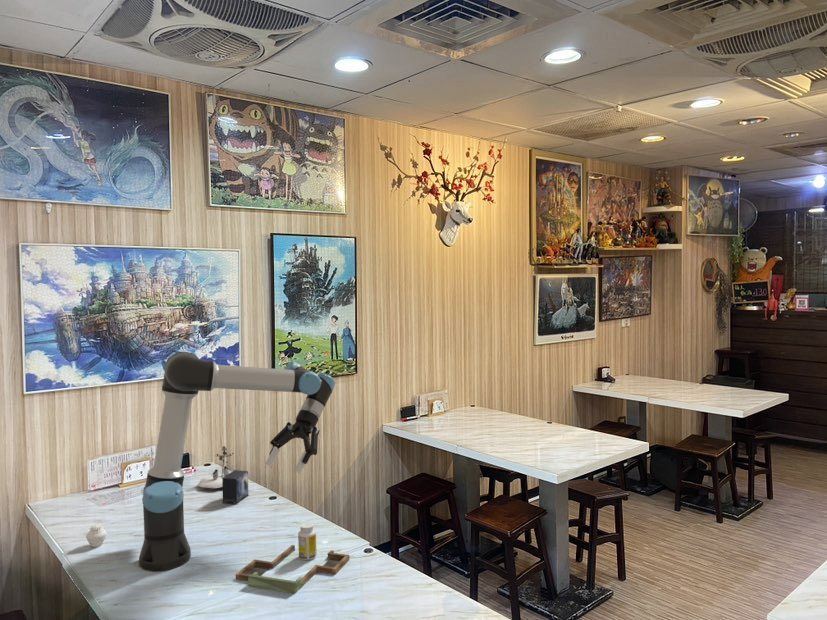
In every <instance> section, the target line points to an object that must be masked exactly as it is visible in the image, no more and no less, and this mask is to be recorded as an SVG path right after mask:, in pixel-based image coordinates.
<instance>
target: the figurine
mask: <svg viewBox="0 0 827 620" xmlns="http://www.w3.org/2000/svg"><path fill="white" fill-rule="evenodd" d="M226 447H227V446H226V445H223V446H222V449H221V450H222V454H221V455H219V453H216V457H219V458H218V460H220V461H221V462H222V468H221V475H219V469H215V470H214V471H213V472H212V475H211V476H209V477H207V478H203V479H200V481H199V482H198V484H197V486H198V487H200V488H208V489H218V488H219V489H220V488H222V478H223V477H224V476H226V475H228V474H229V472H231V471H230V470H229V468H228V466H226V465H225V466H224V464H227V463H229V461H228V460H227V461H225V458H227V457H228V458H229V457H232V456H233V455H234V452H231V453H229V454H228V453H227V452H228V451H227V450H228V448H226Z"/></svg>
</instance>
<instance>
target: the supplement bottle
mask: <svg viewBox="0 0 827 620" xmlns="http://www.w3.org/2000/svg"><path fill="white" fill-rule="evenodd" d="M297 540H298V558H299V559H300V560H302V561H311V560H314V559H315V558H316V557H317V533H316V529H314V524H313V523H311V522H309V523H308V522H306V523H305V522H304V523H302V524H301V525H300V530H299V531H298V533H297Z"/></svg>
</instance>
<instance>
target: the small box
mask: <svg viewBox="0 0 827 620" xmlns="http://www.w3.org/2000/svg"><path fill="white" fill-rule="evenodd" d="M221 488H222V504H228V505H229V504H230V505H237V504H239V503H240V502H241V501H244V500H245V499H246V498H247V497H249V471H247V470H238V469H237V470H236V469H235V470H233V471H230V473H229V474H228V475H226V476H224V477H223V478H222V487H221Z"/></svg>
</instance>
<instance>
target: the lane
mask: <svg viewBox="0 0 827 620" xmlns="http://www.w3.org/2000/svg"><path fill="white" fill-rule="evenodd" d="M295 550H296V546H295V545H294V544H291V545H290V546H289V547H288V548H287V549H285V550H284V551H283V552H282V553H280V554H279V555H278V556H276V558H275V559H273V560H272V561H266V560H260V559H253V560H252V561H250V562H249V563H248V564H247V565H245V567H243V568H242V569H240V570H239V571H238V572H236V573H235V580H239V581H246V582H248V587H252V588H259V589H264V590H271V591H277V592H283V593H288V594H297V592H299V591H300V590H301V588H302V587H304V586H305V585H306V583H308V581H310V580H311V579H312V578H313V577H314V576H315V574H317V573H323V574H329V575H336V574H337V573H338V572H339V571H340V570H341V569H342V568H343V567H344V566H345V565H346V564H348V562H349V561H350V554H345V553H336V552H335V551H334V550H332V549H331V550H330V551H329V552H328V553H327V559H328V560H327V561H326V562H324V564H323V565H318V564H315V565H314V566H313V567H312V568H311V569H310V570H308V572H307V573H306V574H305V575H304V576H302V577H301V576H299V577H298V578H296V580H289V579H284V578H276V577H268V576H263V575H264V574H265V573H266V572H267V571H268V570H270V569H274V568H276V566H278V565H279V564H280V563H281V562H283V561H284V560H285V559H286V558H287V557H288V556H290V555H291V554H292V553H293V552H294V551H295Z"/></svg>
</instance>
